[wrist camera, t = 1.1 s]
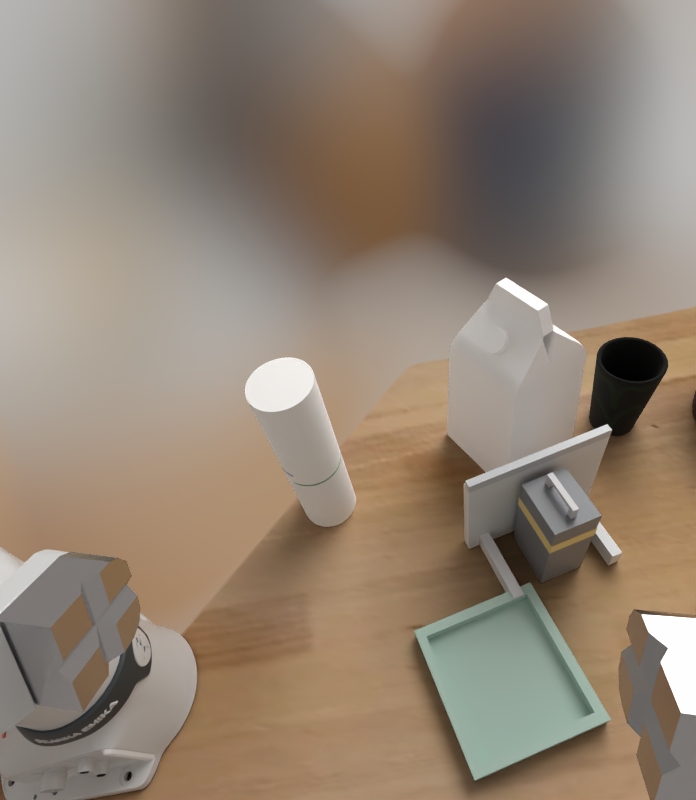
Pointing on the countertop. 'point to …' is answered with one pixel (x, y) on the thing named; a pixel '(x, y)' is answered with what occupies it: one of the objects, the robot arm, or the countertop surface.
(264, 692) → the countertop surface
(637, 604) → the countertop surface
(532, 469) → the dock
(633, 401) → the cup
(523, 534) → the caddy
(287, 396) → the cylindrical container
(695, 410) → the food container
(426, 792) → the countertop surface
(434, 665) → the tray
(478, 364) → the milk
